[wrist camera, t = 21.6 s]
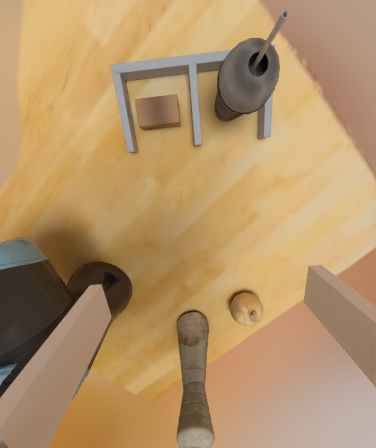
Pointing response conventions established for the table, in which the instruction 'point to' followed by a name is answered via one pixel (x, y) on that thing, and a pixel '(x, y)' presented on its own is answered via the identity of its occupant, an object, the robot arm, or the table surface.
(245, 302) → the onion
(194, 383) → the bottle
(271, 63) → the beverage cup
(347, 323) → the robot arm
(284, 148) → the table surface
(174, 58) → the slot rack
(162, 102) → the walnut bar
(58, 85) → the table surface
